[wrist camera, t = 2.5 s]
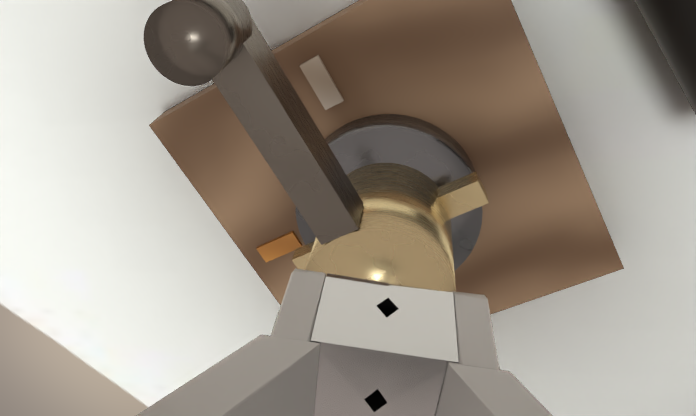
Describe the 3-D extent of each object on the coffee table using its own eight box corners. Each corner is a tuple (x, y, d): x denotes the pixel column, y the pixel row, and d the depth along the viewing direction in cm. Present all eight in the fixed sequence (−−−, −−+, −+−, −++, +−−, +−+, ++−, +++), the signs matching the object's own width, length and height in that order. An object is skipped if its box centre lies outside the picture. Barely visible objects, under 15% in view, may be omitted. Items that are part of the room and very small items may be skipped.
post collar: (507, 233, 30) (512, 254, 29) (355, 292, 33) (351, 314, 31) (431, 81, 27) (431, 95, 25) (270, 161, 30) (260, 178, 28)
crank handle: (507, 231, 28) (534, 348, 21) (332, 299, 31) (304, 420, 24) (342, -97, 22) (302, -87, 15) (147, 28, 25) (40, 84, 18)
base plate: (613, 247, 32) (625, 270, 30) (332, 348, 38) (327, 372, 36) (479, -69, 26) (483, -65, 24) (164, 112, 31) (147, 126, 30)
